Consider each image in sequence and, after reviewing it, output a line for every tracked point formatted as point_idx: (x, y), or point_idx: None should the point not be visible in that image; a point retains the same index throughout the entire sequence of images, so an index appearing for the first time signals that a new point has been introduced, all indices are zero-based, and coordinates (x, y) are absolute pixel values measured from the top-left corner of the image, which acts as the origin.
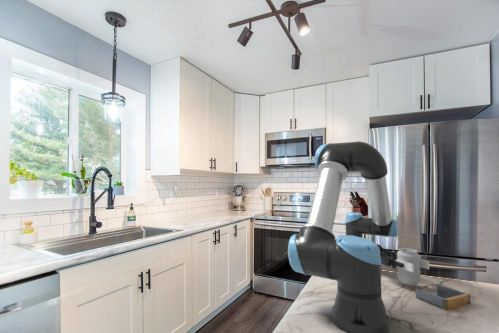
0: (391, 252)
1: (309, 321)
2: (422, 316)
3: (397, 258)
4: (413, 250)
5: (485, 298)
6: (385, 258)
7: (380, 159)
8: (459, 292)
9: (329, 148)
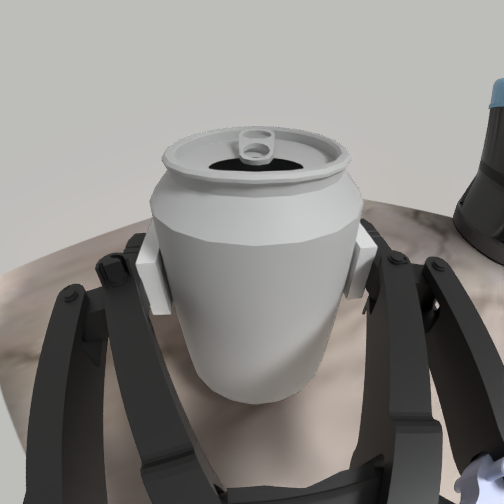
0: (213, 490)
1: None
2: (376, 223)
3: (350, 258)
4: (176, 157)
5: (105, 242)
6: (456, 293)
7: None
8: None
9: None
